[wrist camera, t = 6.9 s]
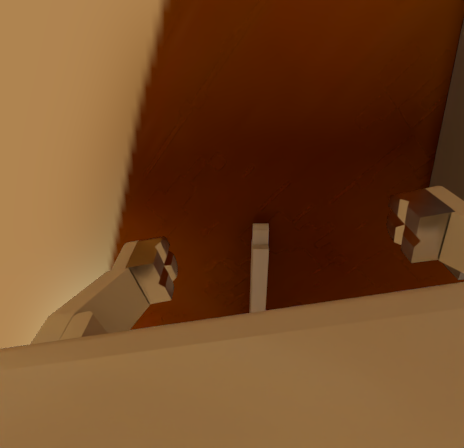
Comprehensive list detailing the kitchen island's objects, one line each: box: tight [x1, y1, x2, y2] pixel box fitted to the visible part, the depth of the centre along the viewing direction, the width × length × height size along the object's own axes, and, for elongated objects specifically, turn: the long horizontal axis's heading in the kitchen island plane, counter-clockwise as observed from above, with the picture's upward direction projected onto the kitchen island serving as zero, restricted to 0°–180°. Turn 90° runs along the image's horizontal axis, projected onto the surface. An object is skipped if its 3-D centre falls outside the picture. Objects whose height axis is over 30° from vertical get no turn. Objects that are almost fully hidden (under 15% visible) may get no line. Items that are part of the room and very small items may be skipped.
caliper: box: [249, 223, 269, 313], centre depth 21 cm, size 20×1×6 cm, turn 0°
